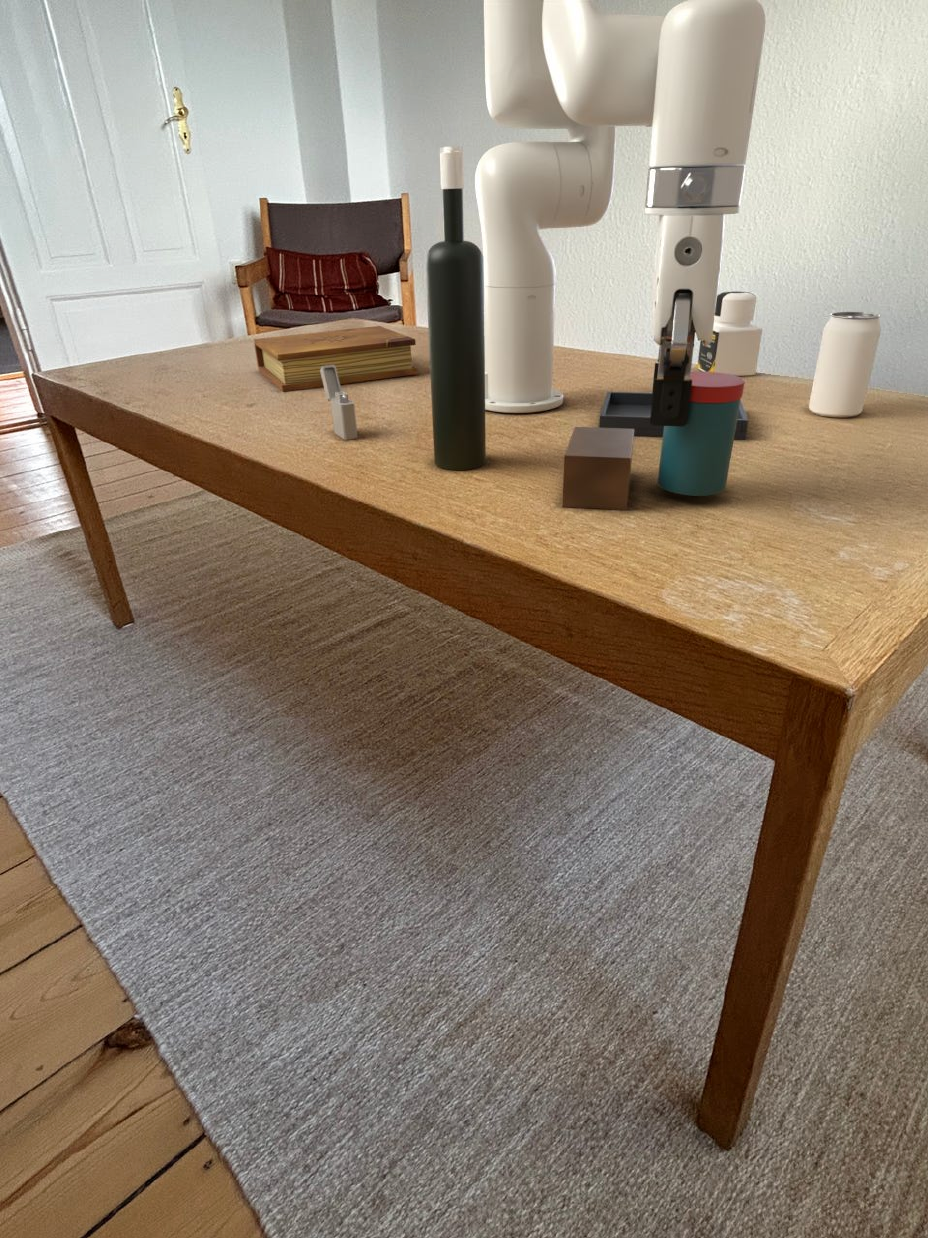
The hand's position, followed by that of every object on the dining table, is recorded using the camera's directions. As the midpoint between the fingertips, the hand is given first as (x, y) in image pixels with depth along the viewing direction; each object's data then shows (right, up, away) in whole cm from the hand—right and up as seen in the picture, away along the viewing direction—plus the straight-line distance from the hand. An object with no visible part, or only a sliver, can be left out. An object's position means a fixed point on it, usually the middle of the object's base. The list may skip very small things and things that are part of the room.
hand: (667, 413), depth 70 cm
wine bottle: (-20, -2, +14) cm, 24 cm away
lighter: (-35, +5, +26) cm, 44 cm away
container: (-1, -5, +3) cm, 6 cm away
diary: (-41, +23, +60) cm, 76 cm away
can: (+30, +8, +29) cm, 42 cm away
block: (-6, -6, +5) cm, 10 cm away
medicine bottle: (+24, +21, +52) cm, 61 cm away
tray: (+7, +6, +26) cm, 28 cm away
